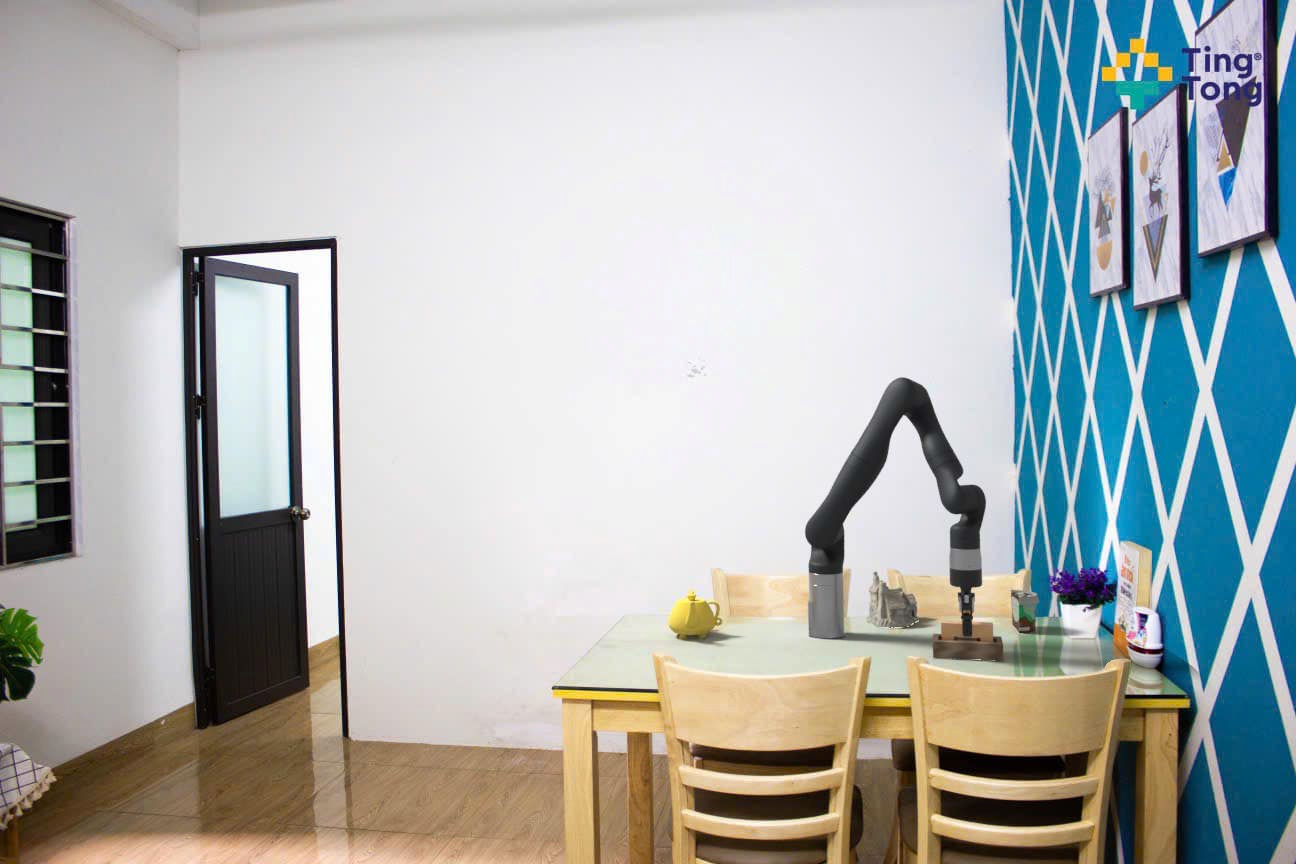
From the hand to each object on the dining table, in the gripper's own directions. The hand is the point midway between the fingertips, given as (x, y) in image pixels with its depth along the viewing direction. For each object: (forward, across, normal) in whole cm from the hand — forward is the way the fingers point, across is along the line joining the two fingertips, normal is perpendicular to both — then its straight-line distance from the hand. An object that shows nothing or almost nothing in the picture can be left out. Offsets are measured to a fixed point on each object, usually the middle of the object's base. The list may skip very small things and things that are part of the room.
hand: (967, 632), depth 226 cm
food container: (+6, +33, -16) cm, 37 cm away
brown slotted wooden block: (+6, 0, 0) cm, 6 cm away
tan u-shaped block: (+6, 0, 0) cm, 6 cm away
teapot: (+6, +7, +71) cm, 72 cm away
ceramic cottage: (+6, +36, +19) cm, 41 cm away
